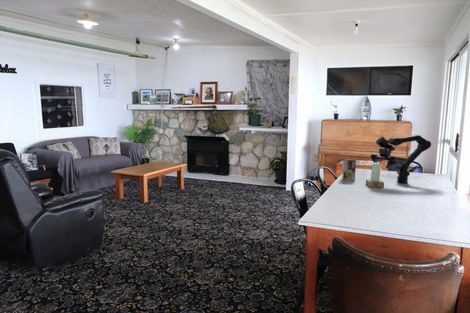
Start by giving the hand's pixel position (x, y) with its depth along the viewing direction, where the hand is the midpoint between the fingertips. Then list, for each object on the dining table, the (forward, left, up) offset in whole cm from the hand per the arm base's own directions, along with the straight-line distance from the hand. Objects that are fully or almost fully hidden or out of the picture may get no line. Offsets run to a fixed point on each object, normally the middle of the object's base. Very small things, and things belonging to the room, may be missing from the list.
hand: (379, 167), depth 272 cm
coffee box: (+18, -17, -13) cm, 28 cm away
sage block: (+4, +5, -9) cm, 11 cm away
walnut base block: (+4, +5, -13) cm, 15 cm away
